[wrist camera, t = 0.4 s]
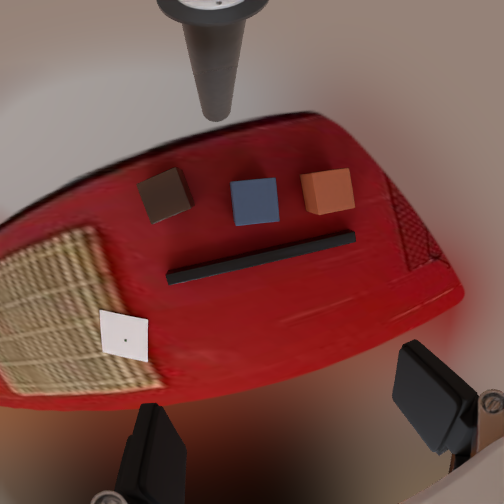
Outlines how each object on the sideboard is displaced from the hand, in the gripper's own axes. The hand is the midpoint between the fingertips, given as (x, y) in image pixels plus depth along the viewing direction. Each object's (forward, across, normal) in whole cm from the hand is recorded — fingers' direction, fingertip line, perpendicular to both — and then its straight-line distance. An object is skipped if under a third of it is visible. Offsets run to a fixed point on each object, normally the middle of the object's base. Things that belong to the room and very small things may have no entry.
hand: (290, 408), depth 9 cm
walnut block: (+28, +7, -8) cm, 31 cm away
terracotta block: (+28, -12, -6) cm, 32 cm away
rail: (+29, -3, +2) cm, 29 cm away
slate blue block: (+28, -3, -6) cm, 29 cm away
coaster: (+29, +20, +10) cm, 37 cm away
